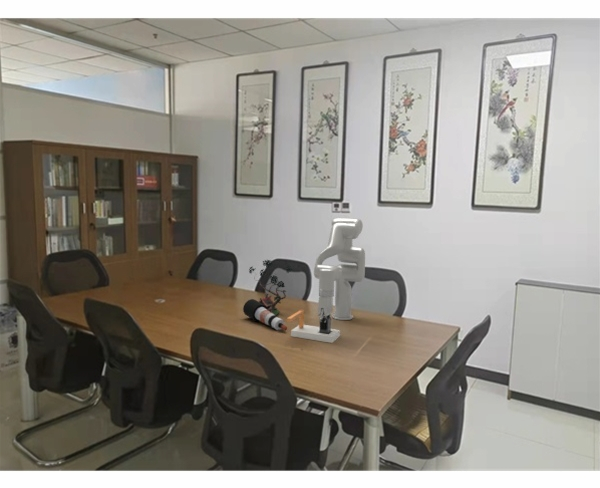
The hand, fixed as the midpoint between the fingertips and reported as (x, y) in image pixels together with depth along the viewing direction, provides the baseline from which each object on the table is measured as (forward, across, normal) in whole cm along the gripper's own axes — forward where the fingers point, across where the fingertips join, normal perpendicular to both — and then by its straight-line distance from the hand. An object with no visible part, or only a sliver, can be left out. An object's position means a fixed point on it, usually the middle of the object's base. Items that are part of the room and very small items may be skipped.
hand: (325, 327), depth 235 cm
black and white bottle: (+6, -8, -37) cm, 38 cm away
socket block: (+6, 0, -5) cm, 8 cm away
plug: (+5, 0, 0) cm, 5 cm away
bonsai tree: (+6, -34, -51) cm, 62 cm away
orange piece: (+2, +8, -13) cm, 15 cm away
